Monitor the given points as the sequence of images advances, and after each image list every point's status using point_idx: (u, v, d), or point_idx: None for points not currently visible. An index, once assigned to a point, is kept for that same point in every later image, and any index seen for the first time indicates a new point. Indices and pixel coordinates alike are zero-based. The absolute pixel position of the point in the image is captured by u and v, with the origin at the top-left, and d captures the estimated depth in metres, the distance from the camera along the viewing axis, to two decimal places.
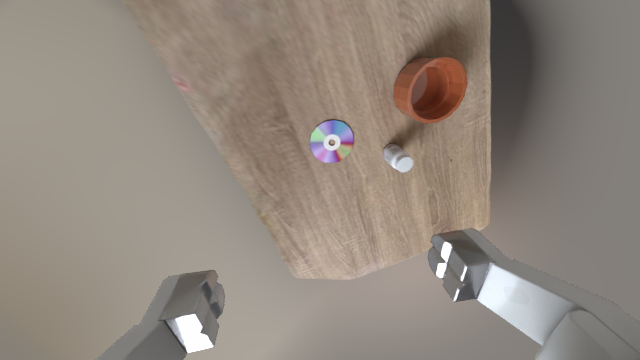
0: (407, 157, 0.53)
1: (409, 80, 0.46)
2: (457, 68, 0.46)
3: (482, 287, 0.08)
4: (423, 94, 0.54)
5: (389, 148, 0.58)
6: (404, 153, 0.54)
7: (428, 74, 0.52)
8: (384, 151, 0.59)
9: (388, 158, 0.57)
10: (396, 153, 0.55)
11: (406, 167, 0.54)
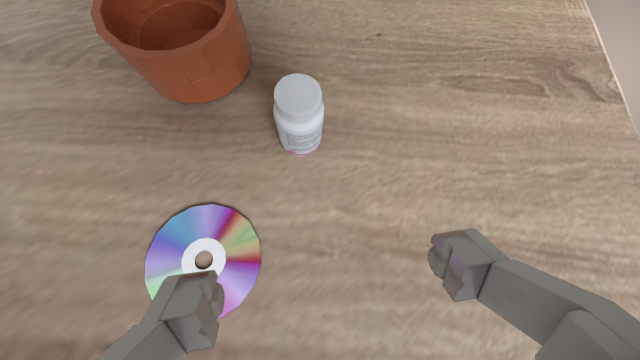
0: (279, 83, 0.19)
1: (114, 49, 0.21)
2: None
3: (483, 287, 0.08)
4: None
5: (279, 136, 0.25)
6: None
7: (183, 41, 0.29)
8: (286, 148, 0.25)
9: (290, 139, 0.22)
10: None
11: (308, 93, 0.19)
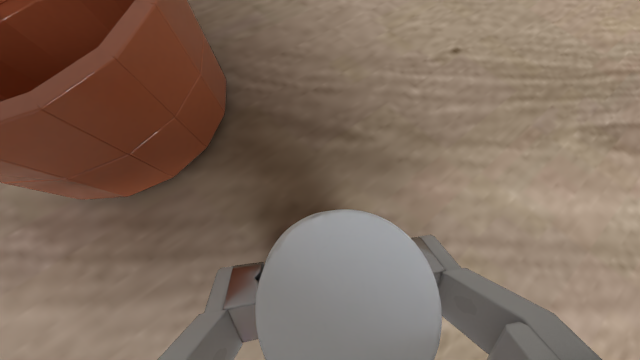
0: (277, 257, 0.05)
1: None
2: None
3: None
4: None
5: None
6: None
7: None
8: None
9: None
10: None
11: (389, 301, 0.05)
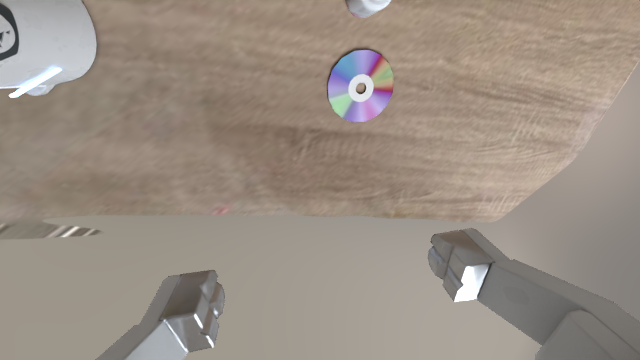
0: None
1: None
2: None
3: (482, 287, 0.08)
4: None
5: None
6: None
7: None
8: (352, 11, 0.32)
9: (362, 10, 0.29)
10: None
11: None
